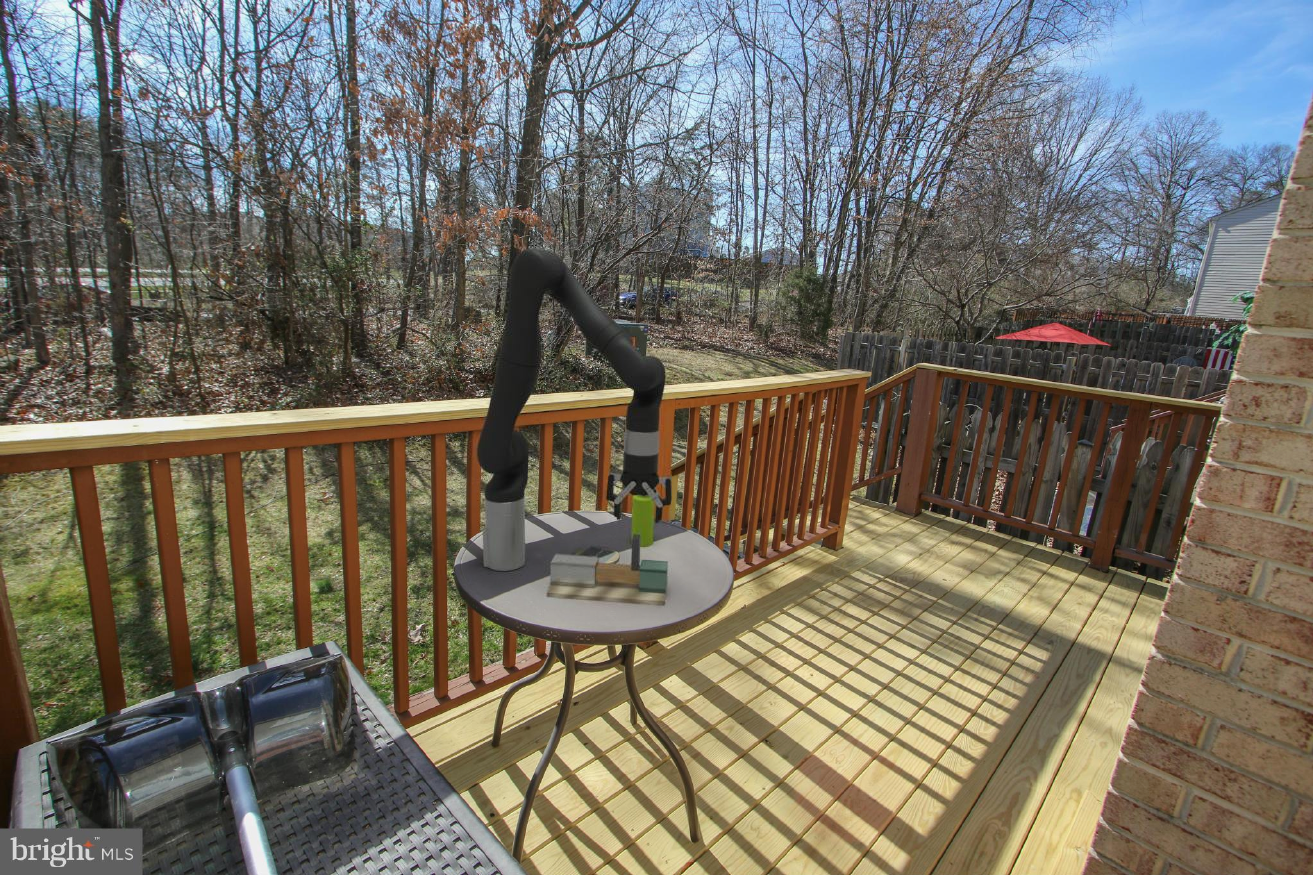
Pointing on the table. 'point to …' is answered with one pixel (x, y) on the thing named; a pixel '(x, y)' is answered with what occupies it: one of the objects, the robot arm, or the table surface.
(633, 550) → the inner bar
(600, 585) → the base board
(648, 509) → the soap dispenser
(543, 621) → the table surface
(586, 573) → the outer sleeve
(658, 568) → the socket block
